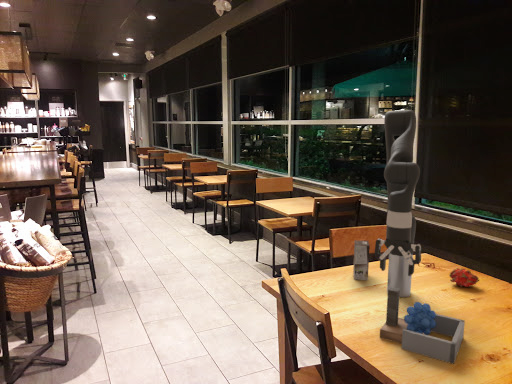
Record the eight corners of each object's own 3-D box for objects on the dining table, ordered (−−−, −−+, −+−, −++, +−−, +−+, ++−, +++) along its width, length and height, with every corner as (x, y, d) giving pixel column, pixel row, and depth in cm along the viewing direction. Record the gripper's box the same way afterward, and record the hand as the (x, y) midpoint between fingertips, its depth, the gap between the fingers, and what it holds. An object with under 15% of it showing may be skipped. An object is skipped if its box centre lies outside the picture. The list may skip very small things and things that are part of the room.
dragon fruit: (445, 286, 181) (475, 294, 177) (449, 281, 174) (480, 289, 170) (448, 268, 184) (478, 276, 180) (452, 262, 177) (483, 270, 173)
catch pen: (416, 325, 141) (417, 309, 140) (463, 337, 132) (464, 320, 132) (401, 348, 126) (402, 330, 125) (453, 364, 117) (455, 344, 117)
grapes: (410, 345, 128) (413, 308, 126) (399, 334, 134) (401, 300, 133) (443, 341, 130) (446, 305, 129) (430, 331, 137) (432, 297, 135)
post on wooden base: (390, 323, 142) (393, 282, 140) (411, 329, 138) (414, 287, 136) (379, 337, 132) (382, 293, 130) (401, 344, 129) (404, 299, 126)
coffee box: (368, 280, 183) (370, 245, 181) (353, 279, 185) (355, 244, 182) (367, 273, 192) (368, 240, 190) (353, 272, 193) (354, 239, 191)
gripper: (425, 224, 130) (421, 273, 132) (380, 219, 138) (378, 265, 140) (419, 229, 124) (416, 280, 126) (373, 223, 131) (371, 271, 134)
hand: (396, 272), depth 133 cm, fingers open, 8 cm apart
